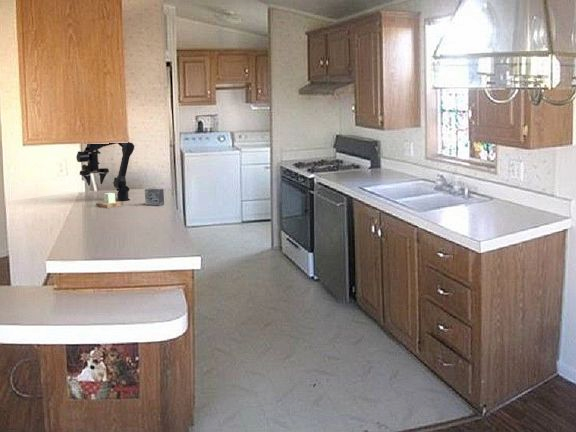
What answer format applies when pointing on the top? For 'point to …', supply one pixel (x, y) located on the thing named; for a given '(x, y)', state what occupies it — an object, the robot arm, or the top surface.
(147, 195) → the small box
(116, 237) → the top surface
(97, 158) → the robot arm
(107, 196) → the block
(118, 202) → the base board
